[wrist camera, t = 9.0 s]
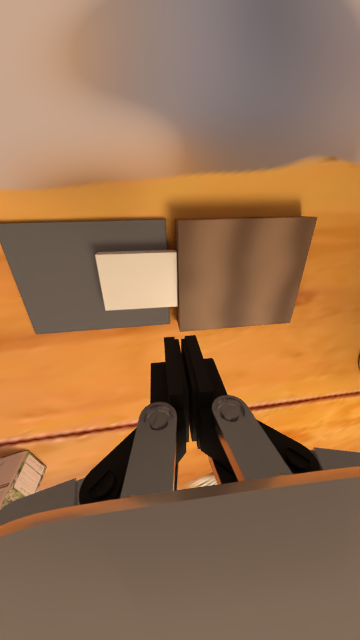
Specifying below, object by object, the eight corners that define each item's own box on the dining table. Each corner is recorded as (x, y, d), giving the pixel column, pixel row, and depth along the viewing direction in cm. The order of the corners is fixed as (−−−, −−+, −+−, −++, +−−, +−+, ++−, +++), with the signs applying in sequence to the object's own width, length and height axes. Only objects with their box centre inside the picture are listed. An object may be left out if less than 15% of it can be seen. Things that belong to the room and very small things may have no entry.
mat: (165, 219, 22) (165, 219, 21) (169, 322, 27) (170, 323, 27) (-5, 223, 20) (-7, 223, 20) (37, 332, 26) (35, 334, 25)
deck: (301, 216, 23) (317, 217, 21) (279, 314, 29) (290, 322, 27) (175, 219, 22) (178, 220, 20) (177, 321, 28) (180, 331, 25)
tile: (175, 249, 23) (176, 252, 22) (175, 301, 26) (177, 306, 24) (98, 252, 22) (95, 254, 21) (107, 305, 25) (105, 310, 24)
